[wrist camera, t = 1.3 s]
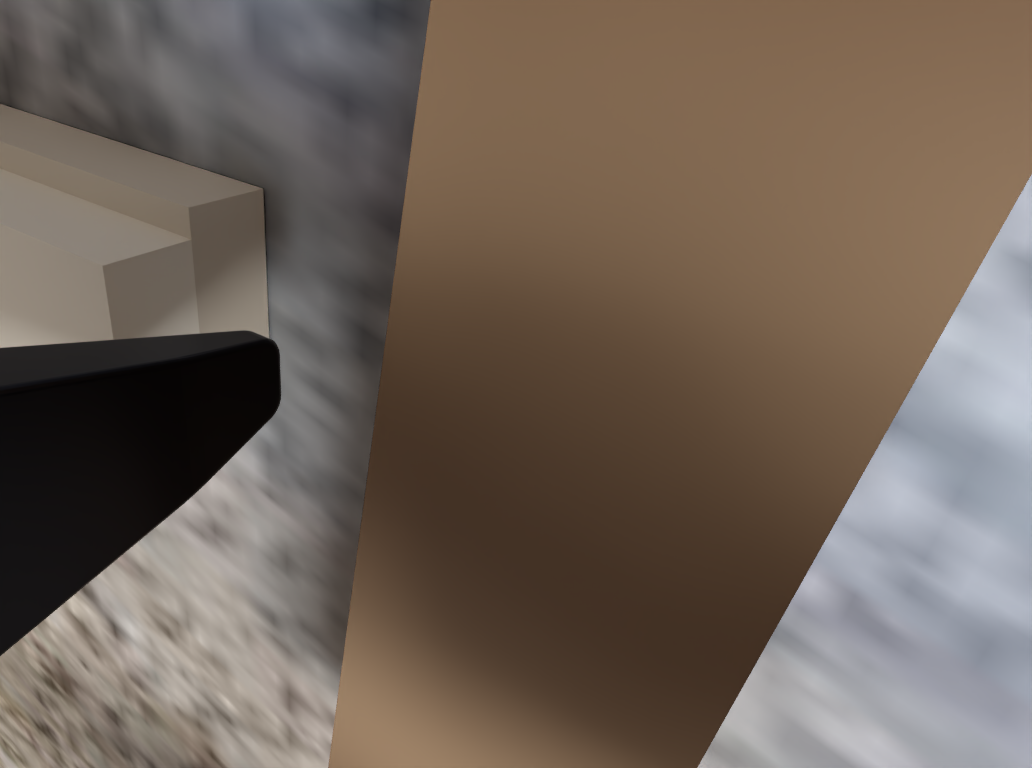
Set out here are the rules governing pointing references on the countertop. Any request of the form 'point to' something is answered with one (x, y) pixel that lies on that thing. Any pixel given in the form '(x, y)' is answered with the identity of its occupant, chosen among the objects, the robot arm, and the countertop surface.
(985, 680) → the countertop surface
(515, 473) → the walnut bar
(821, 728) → the countertop surface
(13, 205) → the stepped block
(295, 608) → the countertop surface
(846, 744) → the countertop surface
